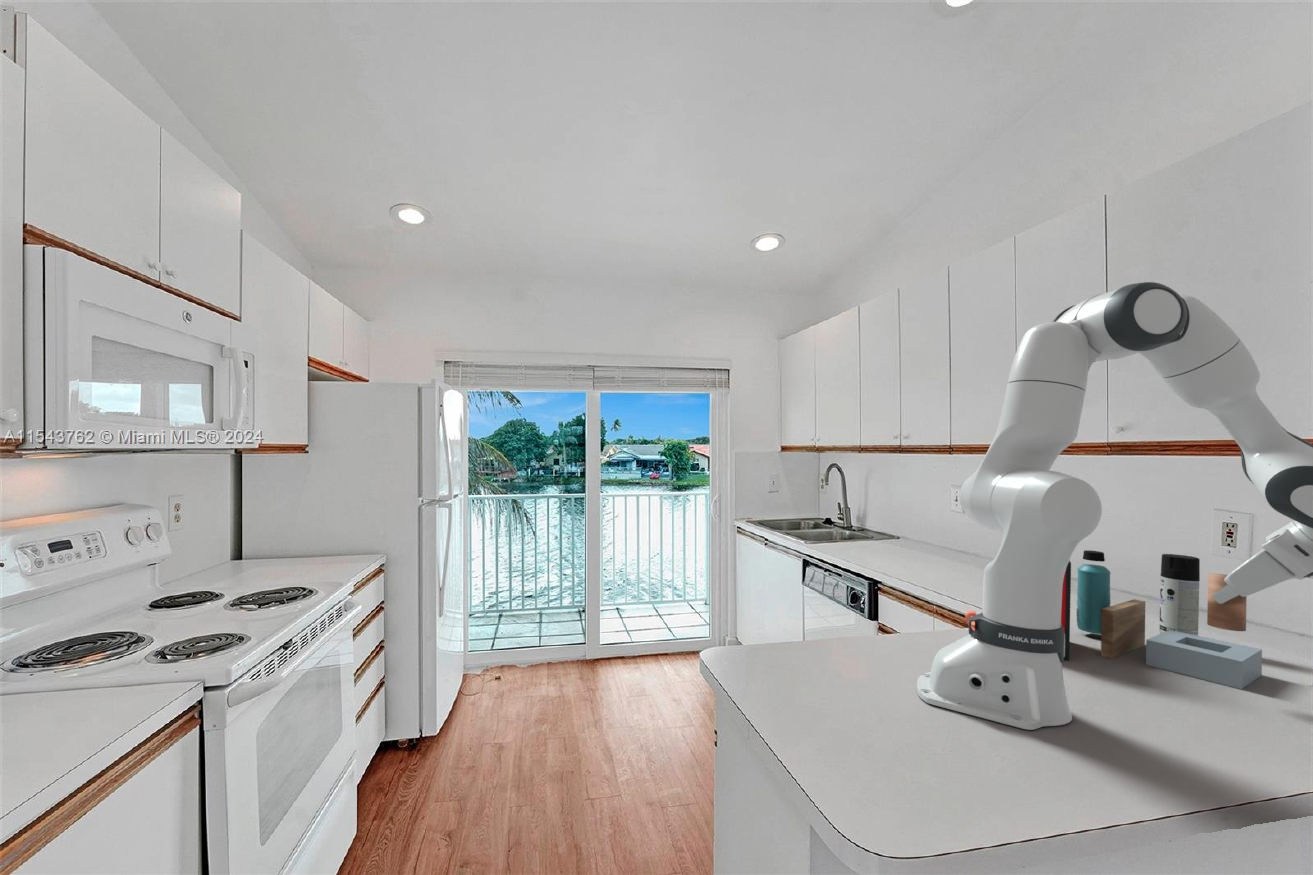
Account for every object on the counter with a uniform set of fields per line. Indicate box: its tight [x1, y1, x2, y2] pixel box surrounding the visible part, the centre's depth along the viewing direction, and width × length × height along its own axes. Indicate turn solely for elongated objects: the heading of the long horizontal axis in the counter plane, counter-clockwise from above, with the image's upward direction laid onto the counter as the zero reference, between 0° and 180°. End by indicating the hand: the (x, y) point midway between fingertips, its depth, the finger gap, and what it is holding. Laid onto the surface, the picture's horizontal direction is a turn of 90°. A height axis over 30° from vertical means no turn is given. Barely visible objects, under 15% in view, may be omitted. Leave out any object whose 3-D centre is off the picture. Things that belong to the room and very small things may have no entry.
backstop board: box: [1100, 598, 1146, 660], centre depth 129 cm, size 2×18×10 cm, turn 124°
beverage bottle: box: [1076, 549, 1112, 635], centre depth 139 cm, size 6×7×20 cm
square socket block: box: [1145, 630, 1263, 690], centre depth 118 cm, size 14×14×5 cm
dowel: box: [1206, 573, 1248, 632], centre depth 106 cm, size 5×5×9 cm
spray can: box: [1158, 553, 1201, 636], centre depth 135 cm, size 7×7×20 cm
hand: (1221, 598), depth 106 cm, fingers closed on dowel, 5 cm apart
